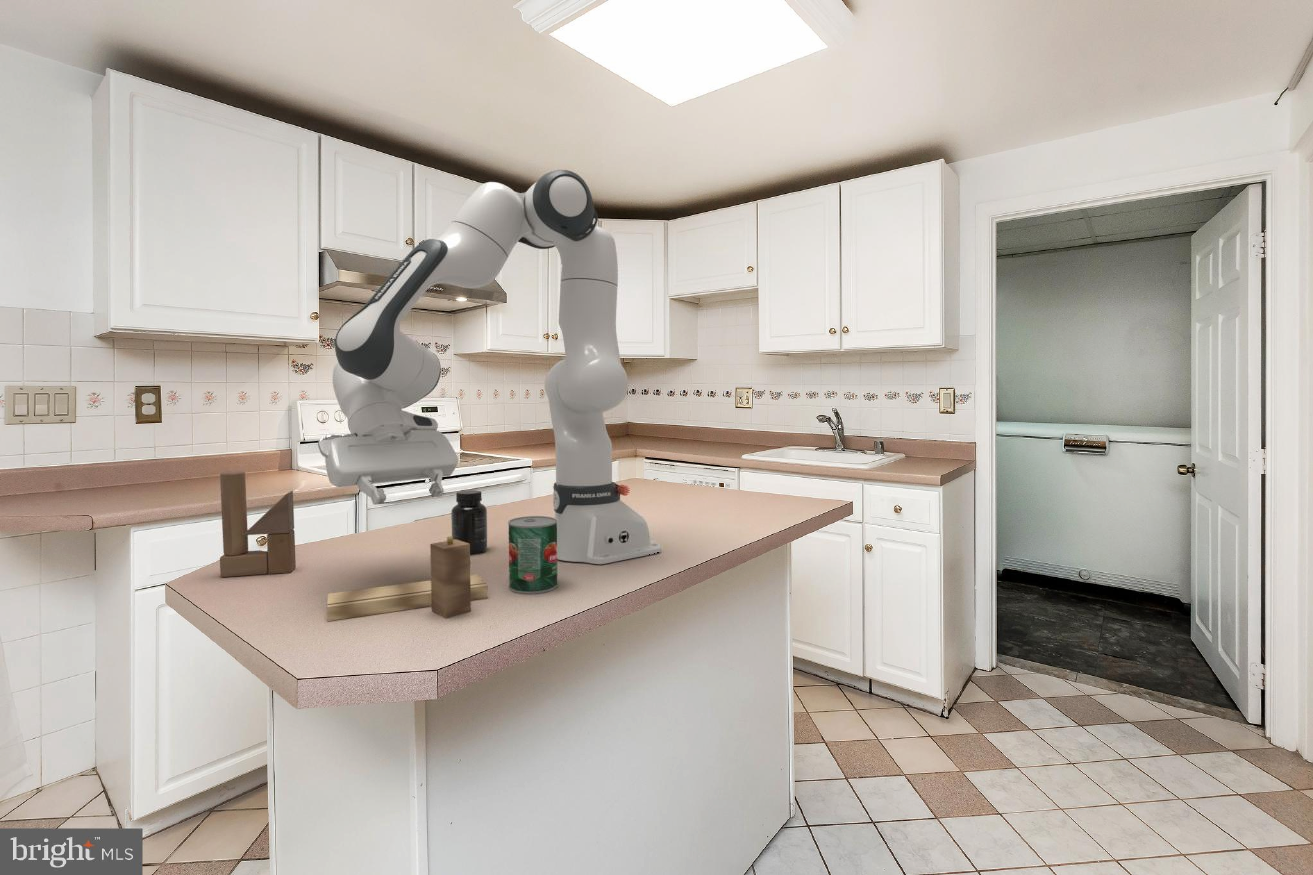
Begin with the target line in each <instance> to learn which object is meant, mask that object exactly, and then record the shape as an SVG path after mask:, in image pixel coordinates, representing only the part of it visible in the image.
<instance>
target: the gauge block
mask: <svg viewBox="0 0 1313 875" xmlns="http://www.w3.org/2000/svg"><path fill="white" fill-rule="evenodd" d="M429 548H430V580H431V600H432V606H431V612H432V613H434V614H436V615H438V616H440V617H442V618H443V619H444V618H445V619H448V618H451V617H455V616H459V615H461V614H465V613H468V612H469V613H470V612H471V611H472V600H471V585H470V575H471V555H470V544H469V543H466V542H463V541H459V540H456V539H455V540H453V537H452V535H451V536H447V537H446V540H445V541H440V542H433V543H430V547H429Z"/></svg>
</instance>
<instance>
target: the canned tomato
mask: <svg viewBox="0 0 1313 875" xmlns="http://www.w3.org/2000/svg"><path fill="white" fill-rule="evenodd" d="M507 525H508V574H509V575H508V581H509V585H508V589H509V590H510V591H511V592H513V593H516V594H521V595H522V594H523V595H536V594H544V593H548V592H551V591H553V590H555V589H556V588H557V587H558V585H559V584H558V559H557V519H555V517H551V516H545V515H543V516H542V515H528V516H519V517H515V518H511V519H509V520H508V521H507Z"/></svg>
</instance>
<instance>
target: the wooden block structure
mask: <svg viewBox="0 0 1313 875" xmlns="http://www.w3.org/2000/svg"><path fill="white" fill-rule="evenodd" d="M219 482H220V484H219V485H220V504H221V522H222V523H221V524H222V525H221V526H222V530H221V531H222V545H223V546H222V547H223V548H222V549H223V550H222V551H223V555H221V556H220V558H219V571H220V577H221V578H229V577H245V576H255V575H256V576H259V575H268V574H269V575H274V574H275V575H277V574H279V575H280V574H290V573H291V572H292V571H293V570H294V569H296V567H297V564H296V560H297V559H296V536H295V512H294V510H295V509H294V508H295V507H294V490H291V491H289V492H287V493H286V494H284V495H283V496H282V497H281V498H280V499H279V500H278V501H277V502H276V503H275V504H274V505H273V506H272V507H271V508H269V510H268V511H266V512H265V514H263V515H262V516H261V517H259V519H258V520H257V521H256V522H255V523H254V524H253V525H251V527H250V528H248V511H247V510H248V509H247V507H248V506H247V488H246V487H247V486H246V485H247V484H246V473H245V471H243V470H231V471H230V470H229V471H223V472H221V473H220V474H219ZM254 535H255V536H256V535H259V536H260V535H266V545H267V546H266V548H267V549H266V551H265V550H249V536H254Z"/></svg>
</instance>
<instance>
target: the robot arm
mask: <svg viewBox="0 0 1313 875" xmlns="http://www.w3.org/2000/svg"><path fill="white" fill-rule="evenodd" d="M598 218H599V216H598V213H597V210H596V209H595V206H594V201H593V197H592V193H591V191H590V188H589V186H588V184H587V183H586V181H585V180H584V179H583V177H581V176H580V175H579V174H577V173H576V172H574V171H572V170H569V169H556V170H553V171H549V172H547V173H545V174H543V175H542V176H541V177H540V178H538V180H537V181H536V182H535V183H533V184H532V185H530V187H529V188H528V189H527V191H525V192H521V193H520V192H517V191H514V190H513V189H512V188H510V186H507V185H505V184H503V183H501V182H496V181H488V182H485V183H482V184H481V185H479V187H477V188H476V190H475V191H474V192H473V193H472V194H471V195H470V196H469V197H468V198H467V199H466V201H465V202H464V203H463V205H462V206H461V207H460V209H459V210H458V212H457V213H456V215H455V216H454V218H453V220H452V221H451V222H450V224H449V226H448V227H447V229H446V230H445V231H444V232H443V233H442V234H441V235H440V236H438V237H437V238H429V239H424V240H423V241H421V242H420V243H418V244H417V245H416V246H415V247H414V248H413V249H411V251H409V253H408V254H407V255H405V256H406V257H404V258H403V259H402V260H401V262H400V263H399V264H398V265H397V267H396V268H395V269H394V270H393V271H392V272H391V274H390V275H388V277H387V278H386V280H385V281H384V282H383V283H382V285H380V287H378V289H377V290H376V292H374V294H373V295H372V296H371V297H370V299H369V300H368V301H367V302H366V303H365V304H364V305H363V306H362V307H361V308H360V309H359V310H358V311H356V313H354V314H353V315H352V316H351V317H350V318H348V319H347V320H346V321H345V322H344V323H343V324H342V325H341V326H340V328H339V329H338V331H337V333H336V336H335V339H334V350H335V356H336V359H337V362H336V363H335V365H334V367H333V370H332V385H333V391H334V394H335V397H336V401H337V403H338V406H339V409H340V411H341V413H342V414H343V415H344V416H345V418H347V427H348V429H349V432H350V433H343V434H326V435H325V437H321V439H319V440H318V442H317V447H318V450H319V452H320V455H321V456H322V457H324V460H325V461H324V462H325V469H326V474H327V478H328V481H329V483H330V484H331V485H333V486H334V487H336V488H345V487H346V488H347V487H354V486H356V487H357V488H358V490H359V491H361V492H362V493H363V494H365V495H366V496H367V497H369V498H370V500H371V502H372V505H374V506H375V505H382V504H384V503H385V501H386V500H387V495H386V493H385V490H384V488H379V489H378V488H377V486H375V485H374V484H382V483H383V484H386V483H393V482H403V481H404V482H405V481H412V480H413V481H415V480H424V479H429V480H430V482H432V483H431V484H430V485H431V486H430V487H429V488H428V491H429V493H430V496H431V497H432V498H438V497H442V496H443V494H444V492H445V489H444V487H443V485H442V480H443V477H450V476H451V475H453V472H454V471H455V470H456V468H457V465H458V462H459V458H458V456H457V453H456V451H455V449H454V448H453V446H452V444H451V442H450V441H449V439H448V438H447V437H446V435H445V434H444V433H442V432H441V431H439V430H438V428H439V424H438V421H437V420H436V419H435V418H433V417H428V416H424V415H419V414H416V413H412V412H409V411H406V410H403V409H406V408H408V407H410V406H412V405H414V404H416V403H417V402H419V401H421V400H423V399H424V398H425V397H427V396H428V395H430V394H431V393H432V392H433V391H434V390H435V388H436V387H437V386H438V384H439V382H440V378H441V372H442V370H441V369H442V367H441V362H440V359H439V358H438V355H436V354H435V353H434V352H432V351H431V350H430V349H428V348H427V347H425V346H424V345H423V344H421V343H420V342H418V341H417V340H414V339H413V338H411V337H410V336H408V335H407V334H405V333H404V332H402V331H401V328H400V325H401V322H402V321H403V320H404V319H405V317H406V316H407V315H408V314H409V312H410V311H411V310H412V309H413V307H415V305H416V303H418V301H419V300H420V299H421V298H422V296H423V295H424V294H425V292H426V291H428V289H430V288H431V287H433V286H435V285H438V284H448V285H452V286H455V287H459V288H463V289H478V288H479V289H480V288H482V287H486V286H488V285H490V284H491V283H492V282H493V281H494V280H495V279H496V278H497V276H499V274H500V272H501V271H502V269H503V267H504V266H505V264H506V262H507V260H508V258H509V256H510V255H511V253H512V251H513V249H514V248H515V246H516V245H517V243H520V244H525V245H527V246H529V247H531V248H533V249H538V250H549V249H552V248H554V247H556V249H557V252H558V254H559V257H560V262H561V263H560V264H561V270H560V271H561V272H560V274H561V275H560V284H559V285H560V287H559V288H560V289H559V306H558V307H559V308H558V309H559V310H558V325H559V328H560V330H561V333H562V339H563V347H564V354H565V355H564V356H565V358H563V359H561V360H560V361H558V362H556V364H554V365H553V366H552V367H551V368H550V369H549V370H548V371H547V374H546V376H545V379H544V391H545V394H546V397H547V399H548V404H549V412H550V418H551V425H552V430H553V434H554V443H555V444H554V445H555V482H554V484H553V493H552V503H553V510H554V518H555V519H557V560H559V561H565V562H572V563H573V562H574V563H575V562H577V563H587V564H593V565H604V564H609V563H610V564H611V563H615V562H619V561H624V560H625V561H626V560H629V559H634V558H639V557H645V556H650V555H655V554H658V553H657V552H659V553H661V550H662V548H661V544H659V543H658V542H657V541H656V540H654V539H652V538H651V537H650V531H649V526H648V523H647V521H646V519H645V518H644V517H643V516H642V515H640V514H639V513H638V512H637V511H635V510H634V509H633V508H632V507H630V506H629V505H627V504H626V503H625V502H624V501H623V500H621V495H622V496H625V497H626V496H628V495H629V494H630V491H631V489H630V487H629V486H628V485H625V484H618V483H616V482H614V481H613V444H612V440H611V437H610V436H609V434H608V431H607V428H606V427H607V426H606V423H605V419H604V414H603V413H605V412H608V411H610V410H613V409H614V408H617V406H620V404H621V403H622V402H623V401H624V399H625V397H626V395H627V393H628V390H629V378H628V374H627V372H626V370H625V368H624V366H623V365H622V362H621V355H620V350H619V349H620V348H619V342H618V336H617V320H616V319H617V304H618V303H617V302H618V285H619V284H618V283H619V282H618V280H619V273H618V272H619V269H618V268H619V266H618V255H617V254H618V253H617V248H616V247H617V246H616V241H615V238H614V237H613V235H612V233H610V232H609V231H608V230H607V229H605V228H603V227H600V226H598V225H597V224H598ZM594 219H595V220H594ZM654 553H655V554H654ZM649 554H650V555H649Z"/></svg>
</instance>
